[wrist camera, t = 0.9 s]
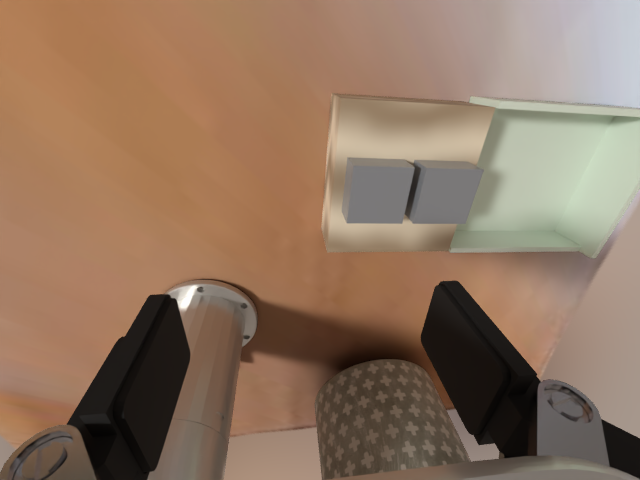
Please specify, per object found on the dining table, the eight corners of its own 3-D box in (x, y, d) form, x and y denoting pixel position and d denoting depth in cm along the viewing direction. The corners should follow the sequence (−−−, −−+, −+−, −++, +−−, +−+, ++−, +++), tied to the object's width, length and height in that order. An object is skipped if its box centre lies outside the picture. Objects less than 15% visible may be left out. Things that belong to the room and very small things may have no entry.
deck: (428, 229, 36) (448, 251, 31) (321, 228, 34) (327, 252, 30) (463, 101, 29) (495, 107, 24) (331, 93, 27) (340, 98, 23)
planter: (445, 352, 48) (524, 488, 32) (392, 418, 56) (435, 552, 41) (338, 333, 43) (371, 484, 27) (297, 408, 51) (305, 557, 36)
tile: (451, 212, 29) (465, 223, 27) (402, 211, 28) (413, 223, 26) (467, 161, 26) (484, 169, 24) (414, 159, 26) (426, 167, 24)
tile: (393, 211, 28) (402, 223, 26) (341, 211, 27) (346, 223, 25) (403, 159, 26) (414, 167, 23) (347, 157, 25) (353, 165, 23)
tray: (552, 232, 38) (595, 258, 33) (431, 232, 36) (457, 260, 31) (618, 106, 31) (687, 113, 25) (470, 96, 28) (512, 102, 23)
